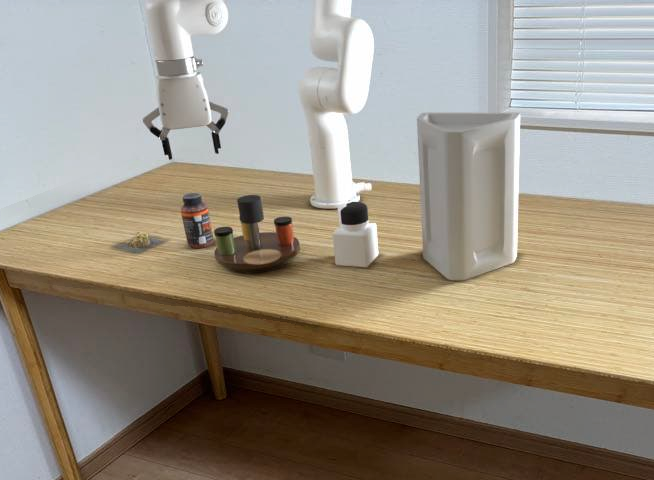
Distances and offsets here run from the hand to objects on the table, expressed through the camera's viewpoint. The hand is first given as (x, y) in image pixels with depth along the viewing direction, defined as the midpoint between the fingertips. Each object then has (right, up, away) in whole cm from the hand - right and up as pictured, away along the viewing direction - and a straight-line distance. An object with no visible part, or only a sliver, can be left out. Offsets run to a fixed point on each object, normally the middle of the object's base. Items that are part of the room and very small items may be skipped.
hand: (193, 155), depth 162 cm
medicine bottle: (+35, -22, -1) cm, 41 cm away
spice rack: (+13, -20, +1) cm, 24 cm away
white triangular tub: (+56, -25, -6) cm, 62 cm away
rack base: (+13, -22, +3) cm, 26 cm away
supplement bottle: (-2, -16, +13) cm, 21 cm away
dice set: (-17, -16, +16) cm, 28 cm away
